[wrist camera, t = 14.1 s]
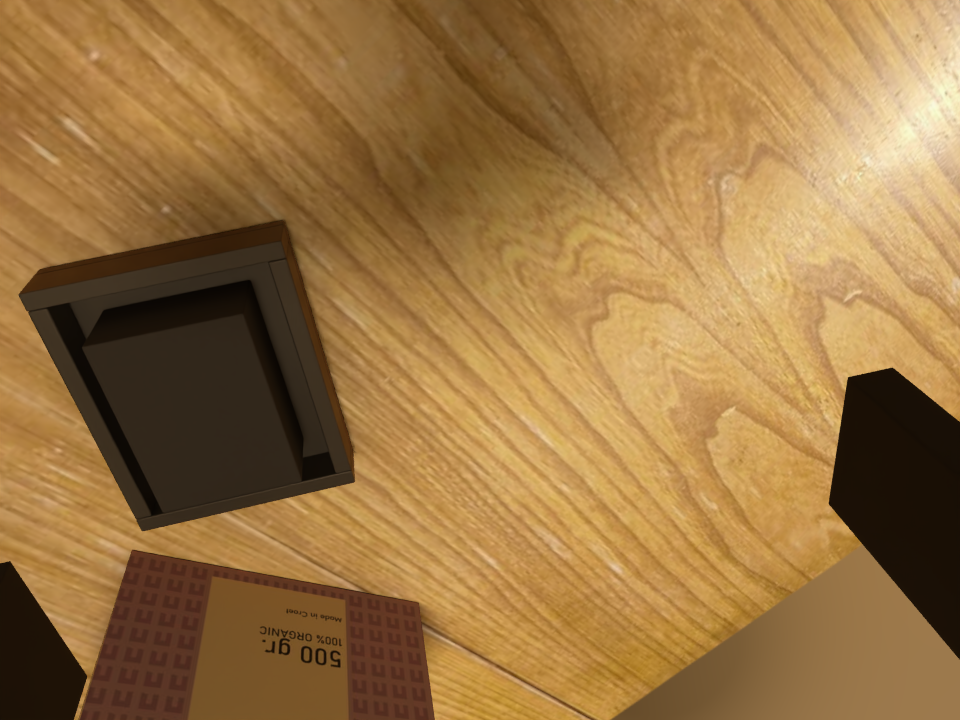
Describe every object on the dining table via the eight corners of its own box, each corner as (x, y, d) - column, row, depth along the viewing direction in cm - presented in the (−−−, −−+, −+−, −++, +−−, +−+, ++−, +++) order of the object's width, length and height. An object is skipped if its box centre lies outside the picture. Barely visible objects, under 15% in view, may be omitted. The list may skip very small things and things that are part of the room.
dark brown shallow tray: (38, 269, 32) (17, 294, 30) (284, 219, 33) (281, 240, 31) (152, 497, 39) (141, 532, 37) (353, 451, 40) (355, 482, 38)
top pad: (102, 309, 33) (80, 347, 30) (250, 279, 33) (243, 313, 30) (175, 467, 38) (162, 513, 35) (303, 438, 38) (302, 481, 35)
